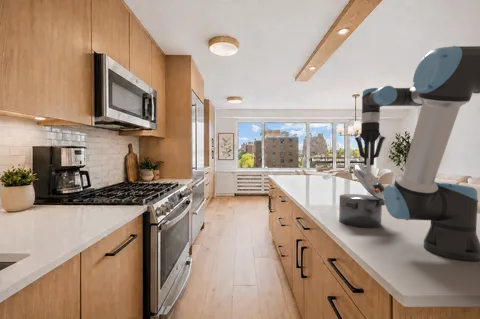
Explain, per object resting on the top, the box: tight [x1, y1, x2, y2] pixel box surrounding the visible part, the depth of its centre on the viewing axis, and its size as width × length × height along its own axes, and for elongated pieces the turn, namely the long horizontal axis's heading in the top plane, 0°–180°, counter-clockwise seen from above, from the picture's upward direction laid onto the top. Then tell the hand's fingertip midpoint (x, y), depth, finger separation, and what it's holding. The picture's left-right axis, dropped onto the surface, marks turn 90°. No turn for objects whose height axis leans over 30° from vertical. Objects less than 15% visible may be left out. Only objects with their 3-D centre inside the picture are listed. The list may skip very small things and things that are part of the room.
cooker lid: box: [352, 163, 386, 200], centre depth 112 cm, size 19×19×4 cm
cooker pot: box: [338, 193, 386, 229], centre depth 116 cm, size 24×20×12 cm
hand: (368, 172), depth 116 cm, fingers closed
